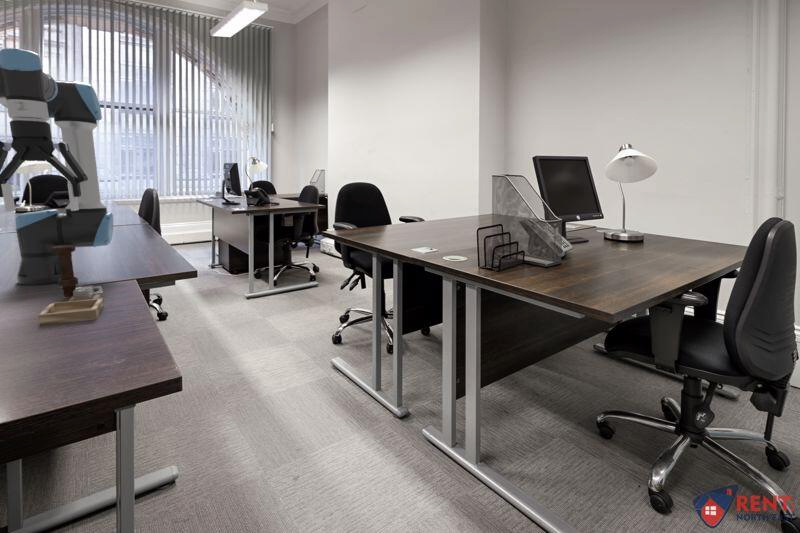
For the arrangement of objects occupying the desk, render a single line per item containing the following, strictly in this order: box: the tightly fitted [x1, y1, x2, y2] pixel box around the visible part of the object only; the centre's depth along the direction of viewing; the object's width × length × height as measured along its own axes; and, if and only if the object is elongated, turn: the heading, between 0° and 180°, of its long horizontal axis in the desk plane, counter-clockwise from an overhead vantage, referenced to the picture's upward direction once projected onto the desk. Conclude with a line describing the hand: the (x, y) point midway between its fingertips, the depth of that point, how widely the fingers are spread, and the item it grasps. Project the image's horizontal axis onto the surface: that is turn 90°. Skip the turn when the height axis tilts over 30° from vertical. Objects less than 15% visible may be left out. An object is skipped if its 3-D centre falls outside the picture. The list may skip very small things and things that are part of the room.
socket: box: [37, 293, 105, 326], centre depth 121 cm, size 23×12×2 cm, turn 25°
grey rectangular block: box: [73, 284, 95, 301], centre depth 129 cm, size 6×4×4 cm, turn 25°
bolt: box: [52, 245, 79, 298], centre depth 133 cm, size 6×5×15 cm
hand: (43, 210), depth 112 cm, fingers open, 13 cm apart
